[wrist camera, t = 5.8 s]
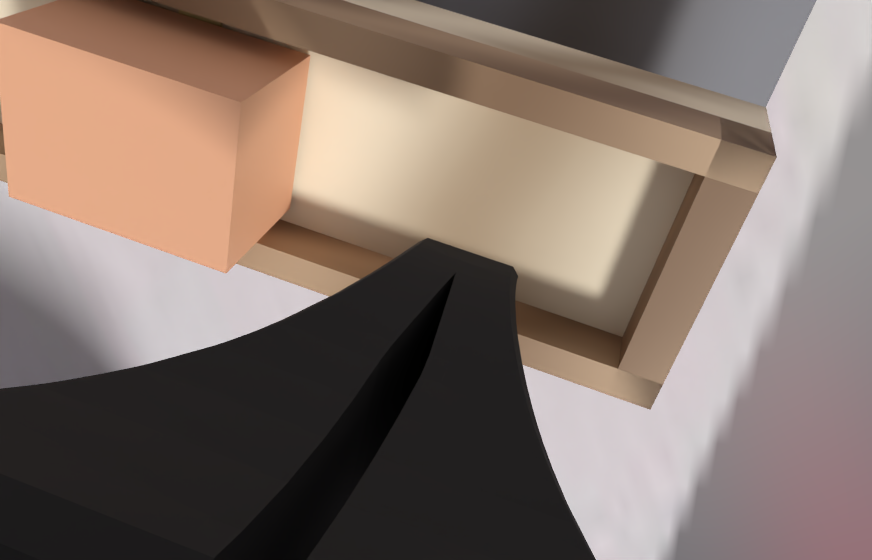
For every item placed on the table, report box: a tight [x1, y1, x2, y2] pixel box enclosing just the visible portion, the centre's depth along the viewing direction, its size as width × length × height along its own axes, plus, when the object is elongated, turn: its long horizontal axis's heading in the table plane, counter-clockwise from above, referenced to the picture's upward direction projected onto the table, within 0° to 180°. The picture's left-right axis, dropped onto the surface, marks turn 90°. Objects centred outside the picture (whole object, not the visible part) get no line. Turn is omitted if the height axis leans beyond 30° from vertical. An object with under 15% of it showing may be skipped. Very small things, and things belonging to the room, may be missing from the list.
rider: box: [0, 0, 311, 273], centre depth 14 cm, size 4×3×2 cm
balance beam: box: [0, 0, 816, 409], centre depth 16 cm, size 20×8×6 cm, turn 77°
